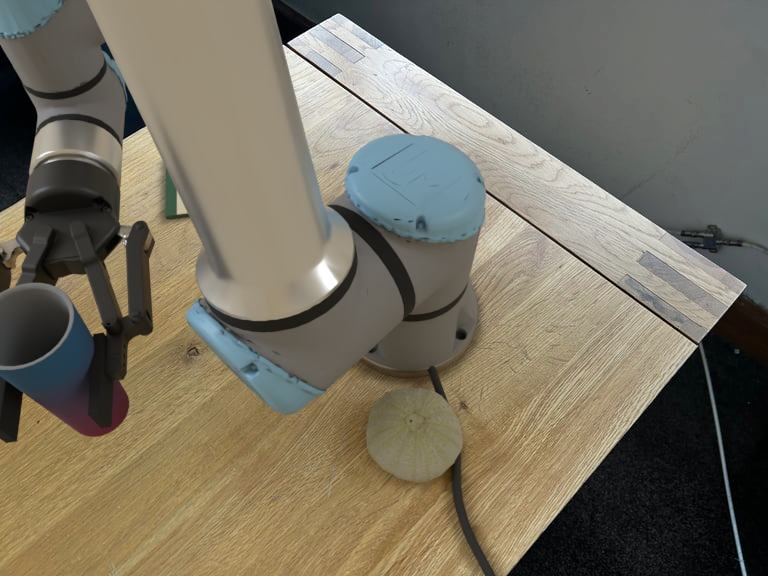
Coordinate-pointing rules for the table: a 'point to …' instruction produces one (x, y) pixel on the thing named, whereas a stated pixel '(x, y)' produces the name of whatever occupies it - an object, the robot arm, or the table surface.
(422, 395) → the sea urchin shell
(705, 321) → the table surface
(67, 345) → the cup
